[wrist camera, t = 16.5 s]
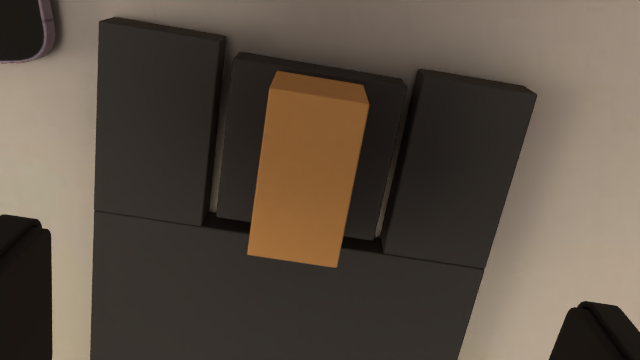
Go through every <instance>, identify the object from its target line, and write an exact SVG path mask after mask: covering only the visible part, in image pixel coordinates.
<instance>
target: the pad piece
mask: <svg viewBox="0 0 640 360" xmlns="http://www.w3.org/2000/svg"><path fill="white" fill-rule="evenodd" d="M406 91H407V86H406V85H405V83H404V82H403V80H402V79H400V78H394V77H388V76H382V75H376V74H370V73H364V72H358V71H352V70H346V69H340V68H334V67H328V66H322V65H316V64H310V63H304V62H298V61H292V60H286V59H280V58H274V57H268V56H262V55H256V54H250V53H244V52H239V53H238V55H237V56H236V57H235V58H234V60H233V68H232V77H231V86H230V95H229V104H228V113H227V122H226V131H225V140H224V149H223V158H222V167H221V177H220V186H219V195H218V204H217V213H216V215H217V217H221V218H227V219H234V220H240V221H247V222H251V228H250V236H249V243H248V251H247V254H248V255H252V256H259V257H266V258H273V259H279V260H286V261H293V262H300V263H306V264H313V265H320V266H326V267H333V268H336V267H337V265H338V260H339V255H340V250H341V245H342V240H343V236H346V237H353V238H359V239H366V240H373V239H374V236H375V231H376V226H377V222H378V217H379V213H380V208H381V204H382V199H383V195H384V190H385V186H386V181H387V177H388V172H389V168H390V163H391V159H392V154H393V150H394V145H395V141H396V136H397V132H398V127H399V123H400V118H401V113H402V109H403V104H404V100H405V95H406Z"/></svg>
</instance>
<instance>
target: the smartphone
mask: <svg viewBox="0 0 640 360" xmlns="http://www.w3.org/2000/svg"><path fill="white" fill-rule="evenodd" d="M54 42H55V25H54V19H53V14H52V9H51V4H50V0H0V63H23V62H29V61H32V60H36V59H39V58H41V57H44V56H45V55H46V54H48V53H49V52H50V50H51V49H52V47H53V45H54Z"/></svg>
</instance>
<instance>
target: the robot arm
mask: <svg viewBox="0 0 640 360" xmlns="http://www.w3.org/2000/svg"><path fill="white" fill-rule="evenodd" d="M0 360H52V267H51V233H50V231H49V230H48V229H43V228H42V225H41V223H40V221H39V220H38V219H32V218H25V217H19V216H12V215H1V216H0ZM549 360H640V332H639V331H638V330H637V328H636V327H635V326H634V325H633V323H632V322H631V321H630V320H629V319H628V317H627V316H626V315H625V314H624V312H623V311H622V310H621V309H620V308H619V307H617V306H614V305H608V304H601V303H595V302H588V301H584V302H581V303H580V304H579V305H578V307H577V308H575V307H574V308H571V309H570V310H569V311H568V313H567V315H566V317H565V320H564V322H563V325H562V328H561V330H560V333H559V335H558V338H557V340H556V343H555V345H554V348H553V350H552V353H551V355H550V358H549Z"/></svg>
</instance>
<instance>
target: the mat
mask: <svg viewBox="0 0 640 360" xmlns="http://www.w3.org/2000/svg"><path fill="white" fill-rule="evenodd" d="M225 47H226V36H223V35H218V34H212V33H206V32H200V31H194V30H188V29H182V28H176V27H170V26H164V25H158V24H152V23H146V22H140V21H134V20H128V19H122V18H116V17H113V18H109V19H105V20H102V21H100V22H99V45H98V82H97V119H96V157H95V194H94V210H95V211H94V239H93V276H92V313H91V350H90V360H457V359H458V356H459V352H460V349H461V346H462V342H463V339H464V336H465V333H466V329H467V326H468V323H469V319H470V316H471V313H472V310H473V306H474V303H475V300H476V296H477V293H478V290H479V286H480V283H481V280H482V277H483V273H484V268H485V267H486V263H487V260H488V257H489V253H490V250H491V247H492V243H493V240H494V237H495V234H496V230H497V227H498V224H499V220H500V217H501V214H502V211H503V207H504V204H505V201H506V197H507V194H508V191H509V188H510V184H511V181H512V178H513V174H514V171H515V168H516V165H517V161H518V158H519V155H520V151H521V148H522V145H523V141H524V138H525V135H526V132H527V128H528V125H529V122H530V118H531V115H532V112H533V109H534V105H535V102H536V99H537V94H536V93H534V92H532V91H531V90H529V89H528V88H526V87H525V86H520V85H514V84H508V83H502V82H497V81H491V80H485V79H479V78H473V77H467V76H461V75H455V74H449V73H443V72H437V71H431V70H425V69H418V71H417V75H416V80H415V84H414V89H413V93H412V98H411V102H410V106H409V111H408V115H407V120H406V124H405V129H404V133H403V138H402V142H401V146H400V151H399V155H398V160H397V164H396V169H395V173H394V178H393V182H392V186H391V191H390V195H389V200H388V204H387V209H386V213H385V218H384V222H383V226H382V231H381V235H380V238H381V239H379V238H374V239H373V240H366V239H359V238H353V237H346V236H343V240H342V245H341V250H340V255H339V260H338V265H337V267H336V268H333V267H326V266H320V265H313V264H306V263H300V262H293V261H286V260H279V259H273V258H266V257H259V256H252V255H248V254H247V251H248V243H249V236H250V228H251V222H247V221H240V220H234V219H227V218H221V217H217V215H216V214H214V213H208V210H209V201H210V191H211V182H212V172H213V162H214V153H215V143H216V134H217V124H218V114H219V105H220V95H221V86H222V76H223V67H224V57H225Z"/></svg>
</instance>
